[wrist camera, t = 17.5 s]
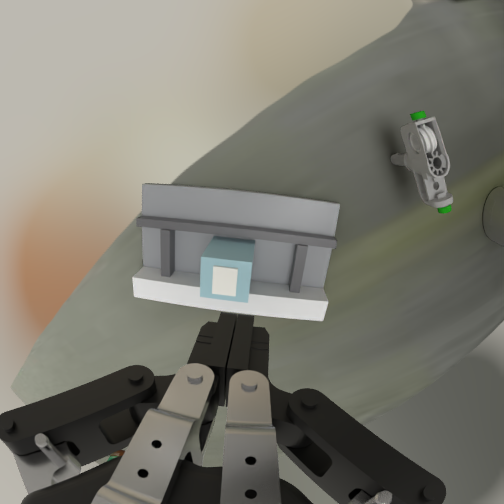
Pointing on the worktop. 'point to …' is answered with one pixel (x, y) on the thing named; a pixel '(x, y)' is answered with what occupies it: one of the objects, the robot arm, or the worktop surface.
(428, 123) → the mechanical component
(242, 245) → the block
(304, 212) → the rail mount
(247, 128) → the worktop surface
